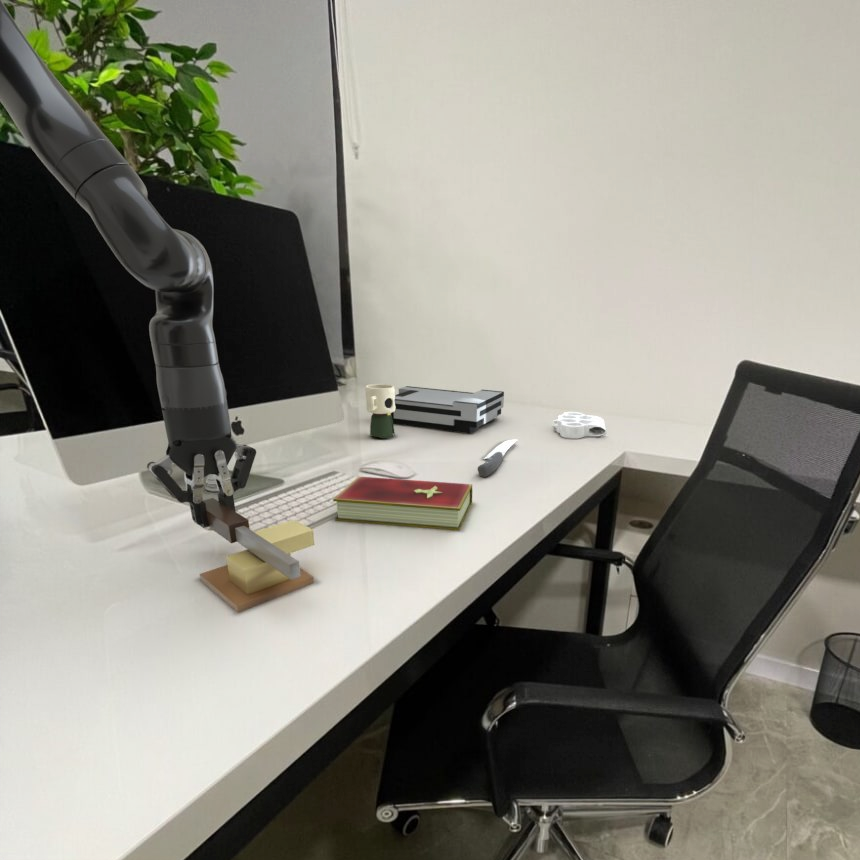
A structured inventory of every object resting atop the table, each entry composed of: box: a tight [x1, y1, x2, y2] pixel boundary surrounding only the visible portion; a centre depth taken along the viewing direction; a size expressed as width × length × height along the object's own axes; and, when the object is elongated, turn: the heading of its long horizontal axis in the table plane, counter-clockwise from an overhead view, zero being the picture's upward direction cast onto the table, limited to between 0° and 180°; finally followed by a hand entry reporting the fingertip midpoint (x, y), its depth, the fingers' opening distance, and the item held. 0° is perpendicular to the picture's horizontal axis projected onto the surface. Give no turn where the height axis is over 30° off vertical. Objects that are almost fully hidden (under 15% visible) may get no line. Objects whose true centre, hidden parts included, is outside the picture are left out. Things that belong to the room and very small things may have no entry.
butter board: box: [199, 549, 315, 613], centre depth 71 cm, size 10×11×4 cm
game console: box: [391, 385, 505, 434], centre depth 158 cm, size 21×32×8 cm, turn 70°
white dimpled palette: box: [551, 411, 607, 440], centre depth 153 cm, size 3×18×15 cm
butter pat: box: [253, 519, 316, 554], centre depth 72 cm, size 6×5×2 cm
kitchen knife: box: [477, 439, 518, 478], centre depth 127 cm, size 29×3×5 cm
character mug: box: [365, 383, 396, 439], centre depth 139 cm, size 11×7×13 cm, turn 167°
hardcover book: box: [332, 476, 473, 532], centre depth 95 cm, size 12×21×4 cm, turn 83°
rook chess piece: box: [205, 474, 220, 493], centre depth 102 cm, size 4×4×8 cm
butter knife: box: [203, 497, 301, 580], centre depth 71 cm, size 3×25×3 cm, turn 48°
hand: (215, 522), depth 77 cm, fingers closed on butter knife, 2 cm apart
